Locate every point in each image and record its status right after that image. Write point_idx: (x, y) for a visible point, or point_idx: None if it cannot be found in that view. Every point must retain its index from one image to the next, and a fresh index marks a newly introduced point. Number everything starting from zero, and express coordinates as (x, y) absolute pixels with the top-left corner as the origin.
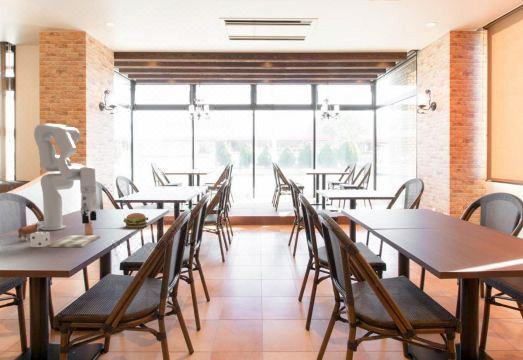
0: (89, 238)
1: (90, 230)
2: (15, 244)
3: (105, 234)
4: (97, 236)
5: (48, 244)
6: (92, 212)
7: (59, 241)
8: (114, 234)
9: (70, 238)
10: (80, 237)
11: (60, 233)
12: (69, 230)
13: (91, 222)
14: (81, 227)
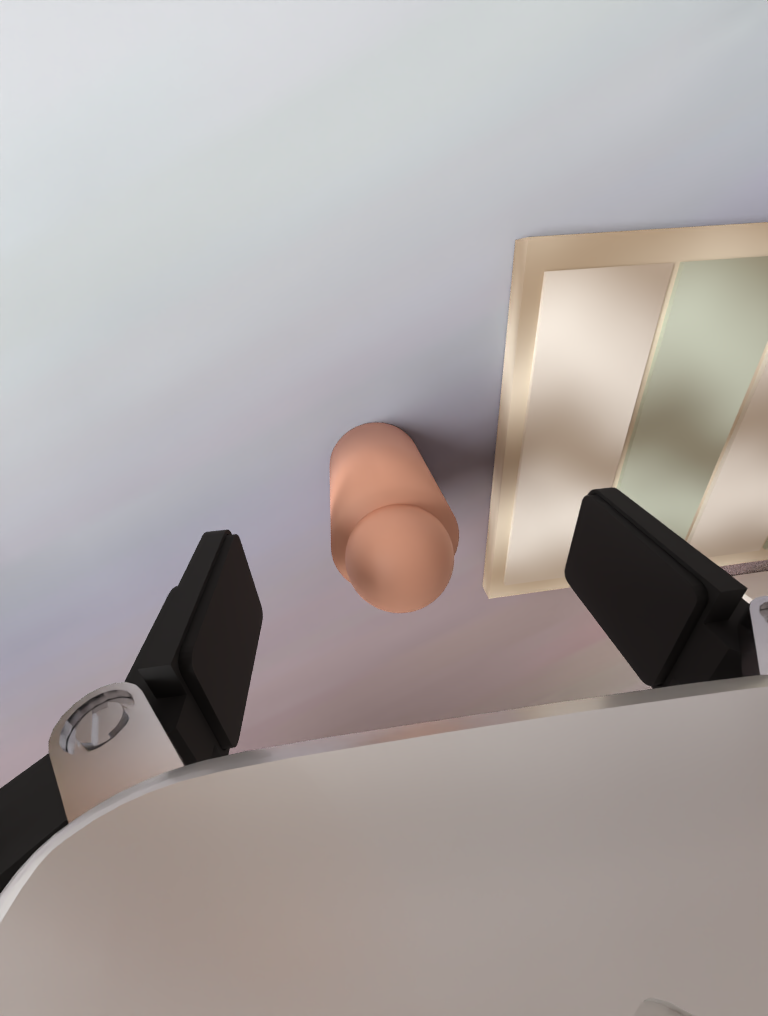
0: (735, 293)
1: (419, 459)
2: None
3: (295, 256)
4: (596, 246)
5: (745, 575)
6: (197, 751)
7: (764, 531)
8: (259, 44)
9: (661, 511)
10: (636, 441)
11: (331, 709)
12: None
13: (406, 518)
14: (21, 718)
